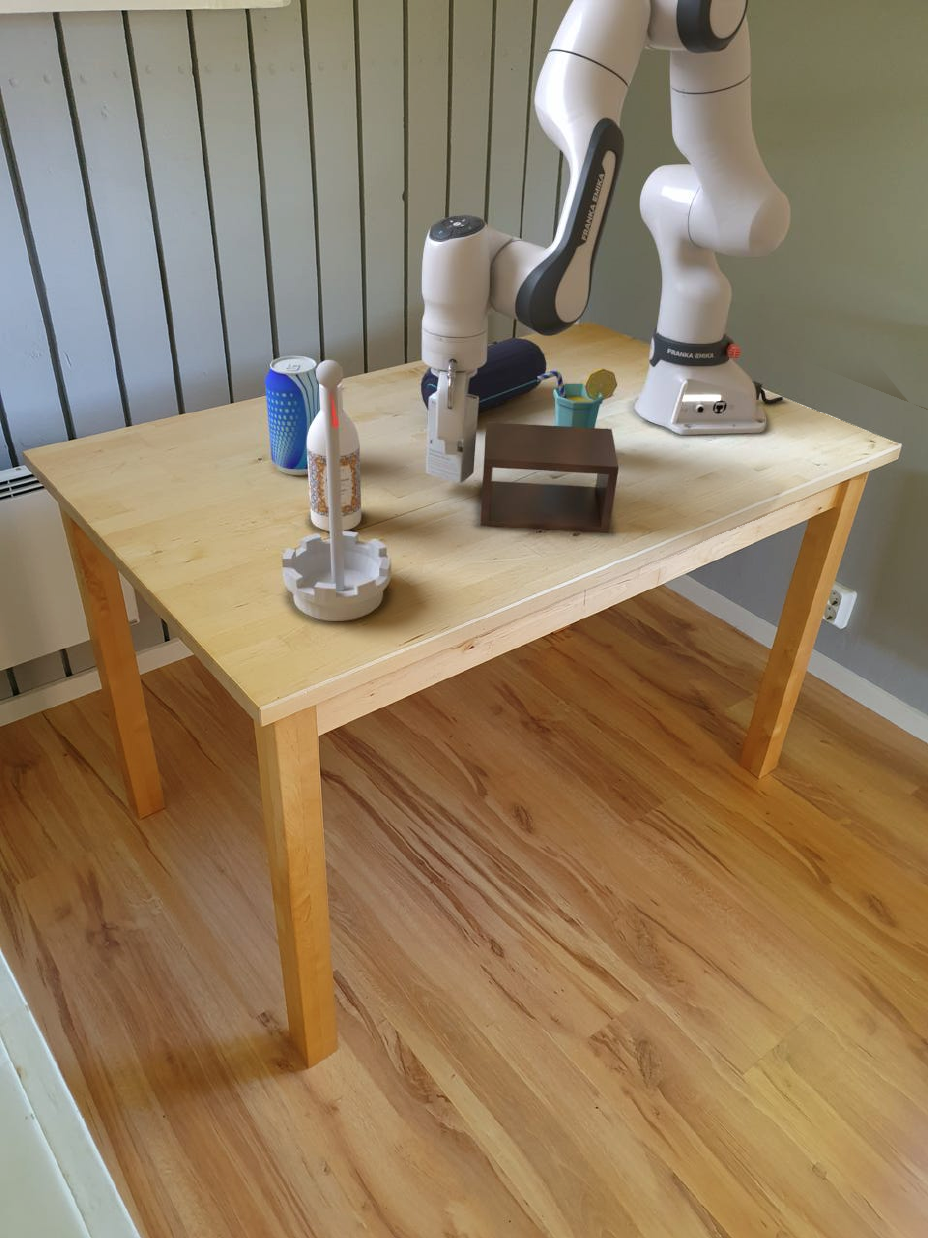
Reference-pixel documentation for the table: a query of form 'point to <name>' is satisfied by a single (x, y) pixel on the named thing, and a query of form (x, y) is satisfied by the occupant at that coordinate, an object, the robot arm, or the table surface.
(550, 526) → the shelf
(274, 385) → the beer can
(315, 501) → the bath foam
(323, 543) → the flag stand
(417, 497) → the table surface
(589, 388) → the cup
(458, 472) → the cosmetic box
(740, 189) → the robot arm
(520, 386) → the portable speaker
